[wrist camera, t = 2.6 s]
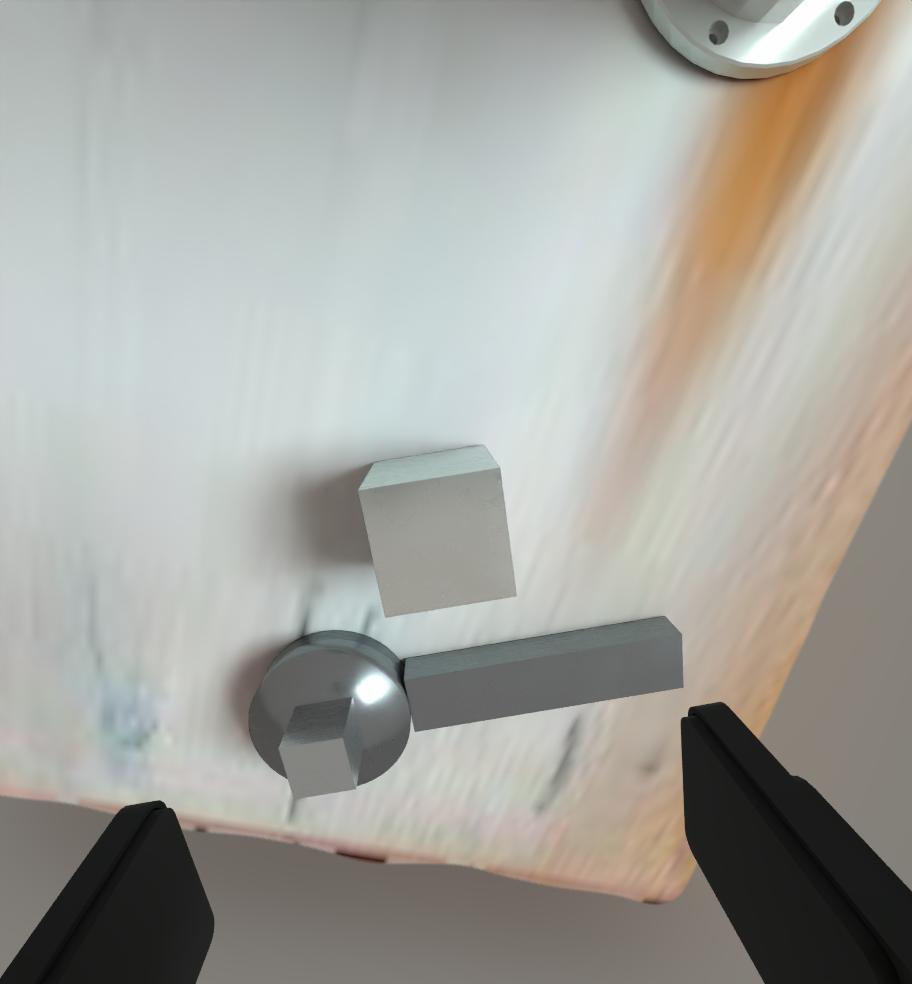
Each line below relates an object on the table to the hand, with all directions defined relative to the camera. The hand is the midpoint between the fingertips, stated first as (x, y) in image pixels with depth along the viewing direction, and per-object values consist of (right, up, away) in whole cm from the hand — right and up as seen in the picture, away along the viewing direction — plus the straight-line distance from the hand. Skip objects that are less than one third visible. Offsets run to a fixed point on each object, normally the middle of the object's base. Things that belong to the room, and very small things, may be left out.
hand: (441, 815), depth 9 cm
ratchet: (+1, -5, +21) cm, 21 cm away
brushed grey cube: (-1, +5, +18) cm, 18 cm away
